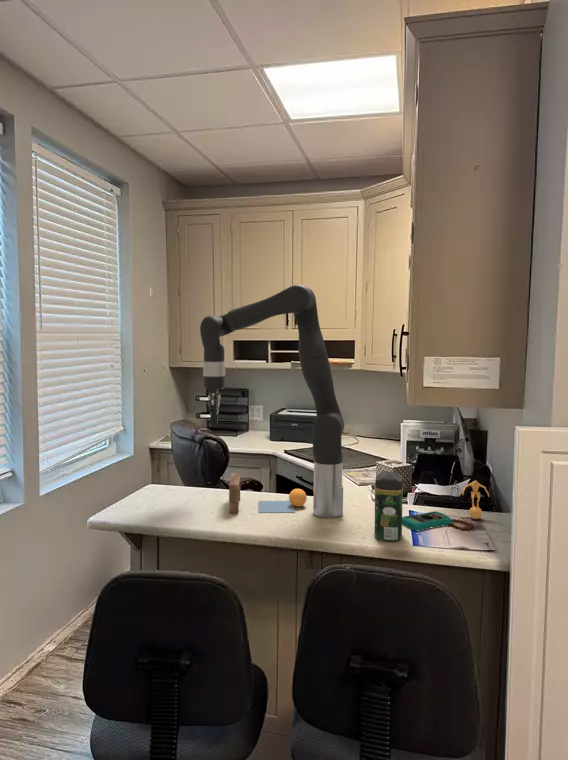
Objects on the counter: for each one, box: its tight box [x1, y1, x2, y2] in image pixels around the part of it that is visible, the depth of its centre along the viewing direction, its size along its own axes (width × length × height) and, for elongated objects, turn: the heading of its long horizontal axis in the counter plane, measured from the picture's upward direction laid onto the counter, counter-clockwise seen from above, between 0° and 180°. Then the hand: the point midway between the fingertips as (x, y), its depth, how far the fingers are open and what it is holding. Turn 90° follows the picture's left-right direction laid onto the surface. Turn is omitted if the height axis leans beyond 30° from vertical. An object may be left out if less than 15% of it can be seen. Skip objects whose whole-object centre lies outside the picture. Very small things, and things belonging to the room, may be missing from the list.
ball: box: [288, 488, 307, 508], centre depth 176 cm, size 6×6×6 cm
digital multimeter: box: [402, 510, 452, 532], centre depth 160 cm, size 7×15×3 cm, turn 116°
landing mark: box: [258, 500, 296, 514], centre depth 175 cm, size 12×12×1 cm
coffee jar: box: [374, 470, 404, 543], centre depth 149 cm, size 10×8×19 cm
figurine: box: [461, 480, 490, 520], centre depth 166 cm, size 8×6×12 cm
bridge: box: [228, 472, 241, 515], centre depth 174 cm, size 3×15×10 cm, turn 2°
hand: (214, 424), depth 179 cm, fingers closed
